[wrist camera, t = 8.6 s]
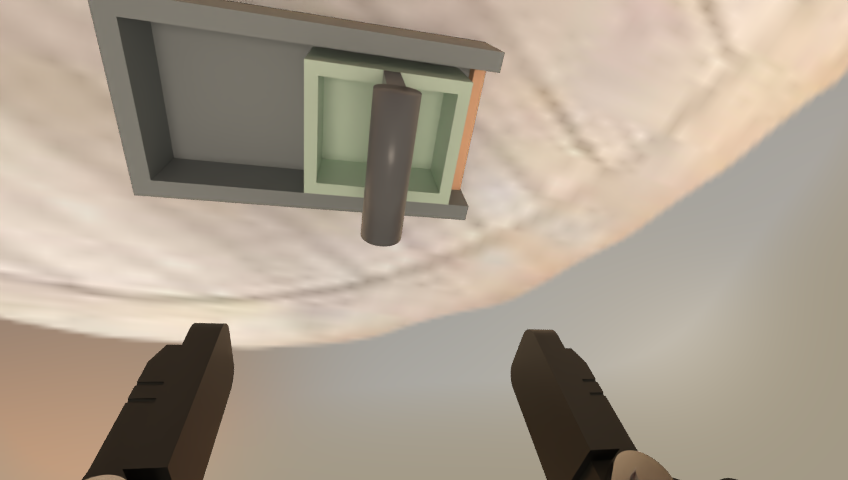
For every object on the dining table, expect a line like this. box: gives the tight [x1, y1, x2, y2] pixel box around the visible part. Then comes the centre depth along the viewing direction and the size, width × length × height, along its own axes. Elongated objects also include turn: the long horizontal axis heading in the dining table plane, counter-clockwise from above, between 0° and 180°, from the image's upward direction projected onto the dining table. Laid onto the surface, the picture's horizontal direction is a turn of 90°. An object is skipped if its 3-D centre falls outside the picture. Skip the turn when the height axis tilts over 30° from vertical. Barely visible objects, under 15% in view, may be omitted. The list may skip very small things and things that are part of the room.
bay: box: [88, 0, 504, 220], centre depth 28 cm, size 12×23×5 cm, turn 81°
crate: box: [304, 47, 473, 246], centre depth 26 cm, size 8×10×11 cm
